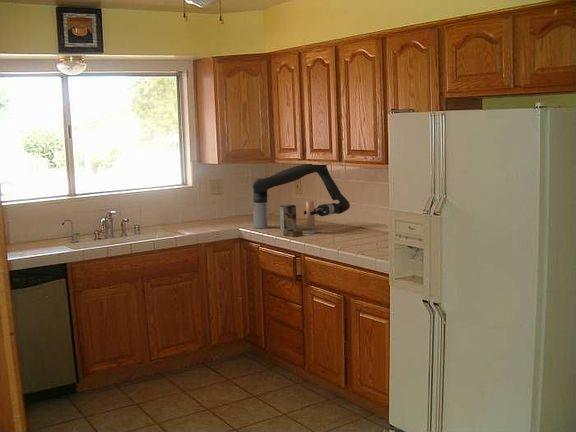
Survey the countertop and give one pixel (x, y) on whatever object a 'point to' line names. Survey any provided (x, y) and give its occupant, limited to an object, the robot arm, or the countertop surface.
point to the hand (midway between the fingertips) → (307, 213)
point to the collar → (292, 232)
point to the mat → (311, 232)
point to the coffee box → (288, 217)
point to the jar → (309, 217)
